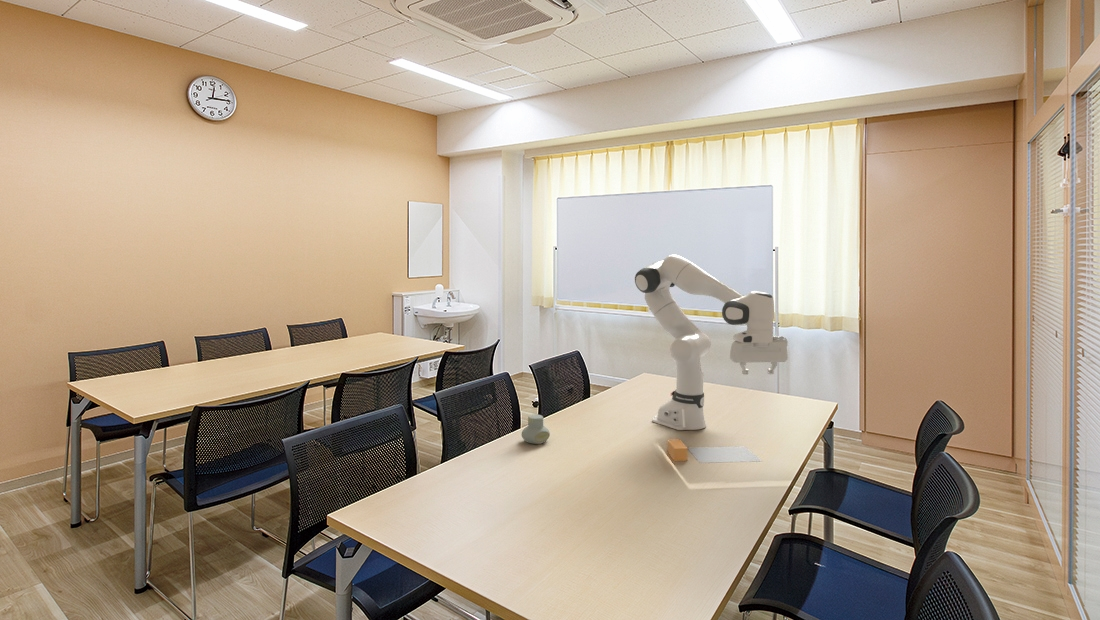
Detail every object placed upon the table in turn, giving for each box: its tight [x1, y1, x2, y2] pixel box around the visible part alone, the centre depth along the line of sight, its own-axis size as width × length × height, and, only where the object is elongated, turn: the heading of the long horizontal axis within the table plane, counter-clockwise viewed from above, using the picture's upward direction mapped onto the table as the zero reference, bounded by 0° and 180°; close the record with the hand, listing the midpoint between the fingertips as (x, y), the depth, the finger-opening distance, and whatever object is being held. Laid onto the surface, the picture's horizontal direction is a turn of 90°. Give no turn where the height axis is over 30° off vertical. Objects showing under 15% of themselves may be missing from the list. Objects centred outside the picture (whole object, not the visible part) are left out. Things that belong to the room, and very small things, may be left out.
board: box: [687, 445, 762, 464], centre depth 194 cm, size 22×14×2 cm, turn 94°
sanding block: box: [666, 438, 688, 466], centre depth 193 cm, size 9×4×6 cm, turn 4°
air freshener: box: [521, 414, 551, 445], centre depth 210 cm, size 11×8×10 cm
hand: (757, 374), depth 198 cm, fingers open, 8 cm apart
